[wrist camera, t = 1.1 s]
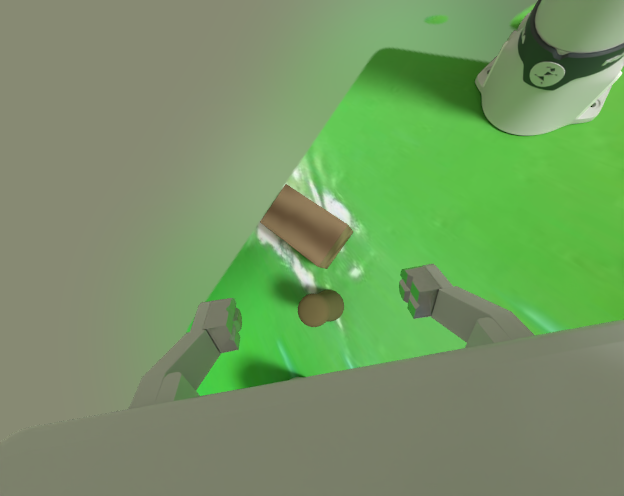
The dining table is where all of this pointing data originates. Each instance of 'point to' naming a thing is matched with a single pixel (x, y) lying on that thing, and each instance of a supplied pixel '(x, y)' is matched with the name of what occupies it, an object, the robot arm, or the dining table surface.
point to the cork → (320, 308)
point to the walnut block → (306, 227)
